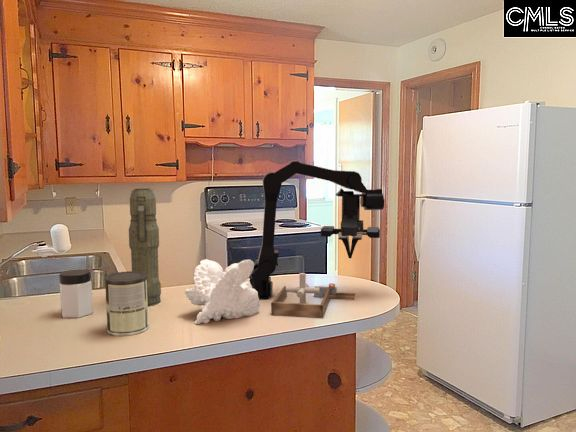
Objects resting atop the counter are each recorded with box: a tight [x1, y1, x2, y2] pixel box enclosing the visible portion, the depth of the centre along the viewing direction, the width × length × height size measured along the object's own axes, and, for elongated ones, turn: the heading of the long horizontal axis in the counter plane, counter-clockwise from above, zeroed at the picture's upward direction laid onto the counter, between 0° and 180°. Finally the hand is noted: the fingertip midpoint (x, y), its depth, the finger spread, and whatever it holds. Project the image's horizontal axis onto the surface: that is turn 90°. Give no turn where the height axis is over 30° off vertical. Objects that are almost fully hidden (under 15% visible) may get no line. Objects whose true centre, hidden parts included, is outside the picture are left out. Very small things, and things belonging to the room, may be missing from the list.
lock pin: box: [313, 282, 338, 298], centre depth 151 cm, size 7×2×4 cm, turn 79°
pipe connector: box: [285, 272, 320, 304], centre depth 140 cm, size 10×10×10 cm
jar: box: [58, 268, 94, 319], centre depth 134 cm, size 9×8×12 cm
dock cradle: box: [270, 285, 356, 319], centre depth 142 cm, size 22×23×4 cm
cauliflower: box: [184, 258, 261, 325], centre depth 132 cm, size 19×20×20 cm
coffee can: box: [104, 270, 150, 337], centre depth 121 cm, size 10×10×14 cm
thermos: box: [128, 188, 162, 307], centre depth 144 cm, size 9×12×35 cm
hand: (350, 258), depth 153 cm, fingers closed
